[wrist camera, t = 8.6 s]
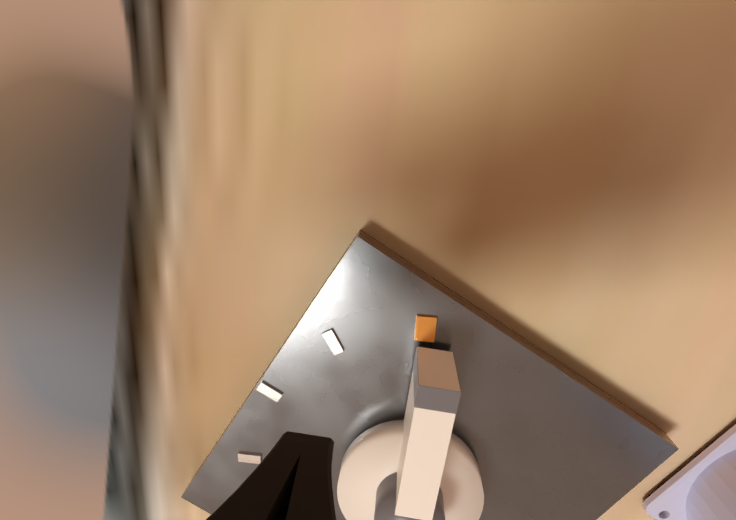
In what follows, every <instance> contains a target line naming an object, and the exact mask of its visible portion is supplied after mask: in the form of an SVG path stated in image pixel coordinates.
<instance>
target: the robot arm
mask: <svg viewBox="0 0 736 520" xmlns="http://www.w3.org/2000/svg"><path fill="white" fill-rule="evenodd" d="M333 449H334V441H333V440H332V439H331V438H329V437H322V436H316V435H309V434H303V433H296V432H290V431H287V432H285V433H284V434H283V435H282V436H281V438H280V439H279V441H278V442H277V443H276V444H275V446H274V447H273V448H272V450H271V451H270V452H269V453H268V455H267V456H266V457H265V458H264V459H263V461H262V462H261V463H260V464H259V465H258V467H257V468H256V469H255V470H254V471H253V472H252V473H251V474H250V475H249V477H248V478H247V479H246V480H245V481H244V482H243V483H242V484H241V485H240V487H239V488H238V489H237V490H236V491H235V492H234V493H233V494H232V495H231V496H230V497H229V498H228V499H227V500H226V501H225V502H224V503H223V504H222V505H221V506H220V507H219V508H218V509H217V510H216V511H215V512H214V513H213V514H212V515H211V516H209V517H208V518H207V519H206V520H336V514H335V507H334V498H333V489H332V469H331V468H332V458H333ZM643 508H644V509H645V511H646V513H647V514H648V515H649V516H651V517H653V518H654V519H656V520H736V424H735V425H734V426H733V427H731V428H730V429H729V430H728V431H727V432H725V433H724V434H723V435H722V436H721V437H719V438H718V439H717V440H716V441H715V442H713V443H712V444H711V445H710V446H709V447H707V448H706V449H705V450H704V451H703V452H701V453H700V454H699V455H698V456H697V457H696V458H694V459H693V460H692V461H691V462H690V463H688V464H687V465H686V466H685V467H684V468H682V469H681V470H680V471H679V472H678V473H676V474H675V475H674V476H673V477H672V478H670V479H669V480H668V481H667V482H666V483H664V484H663V485H662V486H661V487H660V488H658V489H657V490H656V491H655V492H654V493H653V494H651V495H650V496H649V497H648V498H647V499H645V501H644V502H643Z"/></svg>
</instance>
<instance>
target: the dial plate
mask: <svg viewBox="0 0 736 520" xmlns="http://www.w3.org/2000/svg"><path fill="white" fill-rule="evenodd" d="M417 346H418V347H424V348H431V349H437V350H444V351H450V352H453V354H454V359H455V364H456V369H457V374H458V379H459V383H460V388H461V396H460V400H459V405H458V409H457V414H456V415H455V420H454V424H453V429H452V433H453V434H455V435H456V436H457V437H459V438H460V439H461V440H462V441H463V442H464V443H465V444H466V445H467V446H468V447H469V449H470V450H471V452H472V453H473V455H474V457H475V459H476V461H477V464H478V467H479V472H480V476H481V481H482V486H483V492H484V505H483V511H482V513H481V516H480V518H479V520H596V519H598V518H599V517H600V516H601V515H602V514H603V513H605V512H606V511H607V510H608V509H609V508H610V507H612V506H613V505H614V504H615V503H616V502H617V501H619V500H620V499H621V498H622V497H623V496H624V495H625V494H627V493H628V492H629V491H630V490H631V489H632V488H634V487H635V486H636V485H637V484H638V483H639V482H641V481H642V480H643V479H644V478H645V477H646V476H648V475H649V474H650V473H651V472H652V471H653V470H655V469H656V468H657V467H658V466H659V465H660V464H662V463H663V462H664V461H665V460H666V459H667V458H669V457H670V456H671V455H672V454H673V453H674V452H676V451H677V450H678V448H677V446H676V445H675V444H674V443H673V442H672V440H671V439H670V438H669V437H668V436H667V435H666V433H665V432H664V431H662V430H661V429H659V428H658V427H656V426H655V425H653V424H652V423H650V422H649V421H647V420H646V419H644V418H643V417H641V416H640V415H638V414H637V413H635V412H634V411H632V410H631V409H629V408H628V407H626V406H625V405H623V404H622V403H620V402H619V401H617V400H616V399H614V398H613V397H611V396H610V395H608V394H607V393H605V392H604V391H602V390H601V389H599V388H598V387H596V386H595V385H593V384H592V383H590V382H589V381H587V380H586V379H584V378H583V377H581V376H580V375H578V374H577V373H575V372H574V371H572V370H571V369H569V368H567V367H566V366H564V365H563V364H561V363H560V362H558V361H557V360H555V359H554V358H552V357H551V356H549V355H548V354H546V353H545V352H543V351H542V350H540V349H539V348H537V347H536V346H534V345H533V344H531V343H530V342H528V341H527V340H525V339H524V338H522V337H521V336H519V335H518V334H516V333H515V332H513V331H512V330H510V329H509V328H507V327H506V326H504V325H503V324H501V323H500V322H498V321H497V320H495V319H494V318H492V317H491V316H489V315H488V314H486V313H485V312H483V311H482V310H480V309H479V308H477V307H476V306H474V305H473V304H471V303H470V302H468V301H467V300H465V299H464V298H462V297H461V296H459V295H458V294H456V293H454V292H453V291H451V290H450V289H448V288H447V287H445V286H444V285H442V284H441V283H439V282H438V281H436V280H435V279H433V278H432V277H430V276H429V275H427V274H426V273H424V272H423V271H421V270H420V269H418V268H417V267H415V266H414V265H412V264H411V263H409V262H408V261H406V260H405V259H403V258H402V257H400V256H399V255H397V254H396V253H394V252H393V251H391V250H390V249H388V248H387V247H385V246H384V245H382V244H381V243H379V242H378V241H376V240H375V239H373V238H372V237H370V236H369V235H367V234H366V233H364V232H363V231H361V230H360V231H359V233H358V234H357V236H356V237H355V239H354V240H353V242H352V243H351V244H350V246H349V247H348V249H347V250H346V252H345V253H344V255H343V256H342V258H341V259H340V261H339V262H338V264H337V265H336V267H335V268H334V270H333V271H332V273H331V274H330V276H329V277H328V279H327V280H326V282H325V283H324V285H323V286H322V287H321V289H320V290H319V292H318V293H317V295H316V296H315V298H314V299H313V301H312V302H311V304H310V305H309V307H308V308H307V310H306V311H305V313H304V314H303V316H302V317H301V319H300V320H299V322H298V323H297V325H296V326H295V328H294V329H293V330H292V332H291V333H290V335H289V336H288V338H287V339H286V341H285V342H284V344H283V345H282V347H281V348H280V350H279V351H278V353H277V354H276V356H275V357H274V359H273V360H272V362H271V363H270V365H269V366H268V368H267V369H266V371H265V372H264V373H263V375H262V376H261V378H260V379H259V381H258V382H257V384H256V385H255V387H254V388H253V390H252V391H251V393H250V394H249V396H248V397H247V399H246V400H245V402H244V403H243V405H242V406H241V408H240V409H239V411H238V412H237V413H236V415H235V416H234V418H233V419H232V421H231V422H230V424H229V425H228V427H227V428H226V430H225V431H224V433H223V434H222V436H221V437H220V439H219V440H218V442H217V443H216V445H215V446H214V448H213V449H212V451H211V452H210V454H209V455H208V456H207V458H206V459H205V461H204V462H203V464H202V465H201V467H200V468H199V470H198V471H197V473H196V474H195V476H194V477H193V479H192V480H191V482H190V483H189V485H188V487H187V488H186V490H185V492H184V493H183V495H182V498H184V499H185V500H187V501H189V502H191V503H192V504H194V505H196V506H198V507H199V508H201V509H203V510H205V511H206V512H208V513H210V514H213V513H214V512H215V511H216V510H217V509H218V508H219V507H220V506H221V505H222V504H223V503H224V502H225V501H226V500H227V499H228V498H229V497H230V496H231V495H232V494H233V493H234V492H235V491H236V490H237V489H238V488H239V487H240V485H241V484H242V483H243V482H244V481H245V480H246V479H247V478H248V477H249V475H250V474H251V473H252V472H253V471H254V470H255V469H256V468H257V467H258V465H259V464H260V463H261V462H262V461H263V459H264V458H265V457H266V456H267V455H268V453H269V452H270V451H271V450H272V448H273V447H274V446H275V444H276V443H277V442H278V441H279V439H280V438H281V436H282V435H283V434H284V433H285V432H287V431H290V432H296V433H303V434H309V435H316V436H322V437H329V438H331V439H332V440H333V441H334V449H333V458H332V468H331V469H332V489H333V498H334V507H335V514H336V520H346V519H345V517H344V515H343V513H342V511H341V509H340V506H339V503H338V497H337V485H338V479H339V474H340V469H341V464H342V460H343V457H344V454H345V452H346V450H347V449H348V447H349V446H350V444H351V443H352V442H353V441H354V440H355V439H356V438H357V437H358V436H359V435H360V434H362V433H363V432H364V431H366V430H368V429H369V428H371V427H373V426H376V425H378V424H381V423H384V422H389V421H394V420H404V417H405V411H406V405H407V400H408V394H409V389H410V383H411V377H412V372H413V363H414V358H415V352H416V347H417Z"/></svg>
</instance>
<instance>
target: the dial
mask: <svg viewBox="0 0 736 520" xmlns="http://www.w3.org/2000/svg"><path fill="white" fill-rule="evenodd" d="M460 396H461V388H460V383H459V379H458V374H457V369H456V364H455V359H454V354H453V352H450V351H444V350H437V349H431V348H424V347H418V346H417V347H416V352H415V358H414V363H413V372H412V377H411V383H410V389H409V394H408V400H407V405H406V411H405V417H404V420H394V421H389V422H384V423H381V424H378V425H376V426H373V427H371V428H369V429H368V430H366V431H364V432H363V433H362V434H360V435H359V436H358V437H357V438H356V439H355V440H354V441H353V442H352V443H351V444H350V446H349V447H348V449H347V450H346V452H345V454H344V457H343V460H342V464H341V469H340V474H339V479H338V485H337V497H338V503H339V506H340V509H341V511H342V513H343V515H344V517H345V519H346V520H479V518H480V516H481V513H482V511H483V505H484V492H483V486H482V481H481V476H480V472H479V467H478V464H477V461H476V459H475V457H474V455H473V453H472V452H471V450H470V449H469V447H468V446H467V445H466V444H465V443H464V442H463V441H462V440H461V439H460V438H459V437H457V436H456V435H455V434H453V433H452V429H453V424H454V420H455V415H456V414H457V409H458V405H459V400H460Z"/></svg>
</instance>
